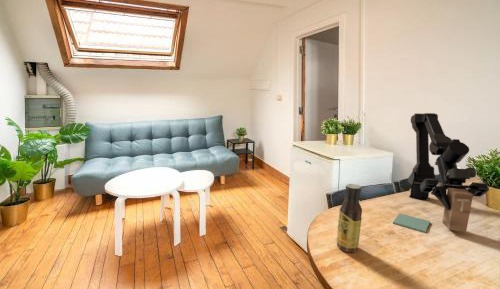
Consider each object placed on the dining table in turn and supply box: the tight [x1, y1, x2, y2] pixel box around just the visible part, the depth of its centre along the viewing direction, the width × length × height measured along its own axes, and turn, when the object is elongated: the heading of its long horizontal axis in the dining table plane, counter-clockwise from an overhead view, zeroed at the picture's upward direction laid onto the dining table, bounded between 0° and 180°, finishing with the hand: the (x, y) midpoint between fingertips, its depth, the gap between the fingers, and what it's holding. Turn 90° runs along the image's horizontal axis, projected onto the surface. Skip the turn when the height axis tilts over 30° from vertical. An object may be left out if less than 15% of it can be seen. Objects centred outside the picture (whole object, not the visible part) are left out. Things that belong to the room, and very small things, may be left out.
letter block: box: [442, 188, 474, 232], centre depth 89 cm, size 5×5×13 cm
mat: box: [392, 212, 431, 234], centre depth 96 cm, size 10×10×1 cm
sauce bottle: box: [336, 183, 363, 253], centre depth 78 cm, size 6×6×20 cm
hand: (458, 210), depth 87 cm, fingers closed on letter block, 5 cm apart
